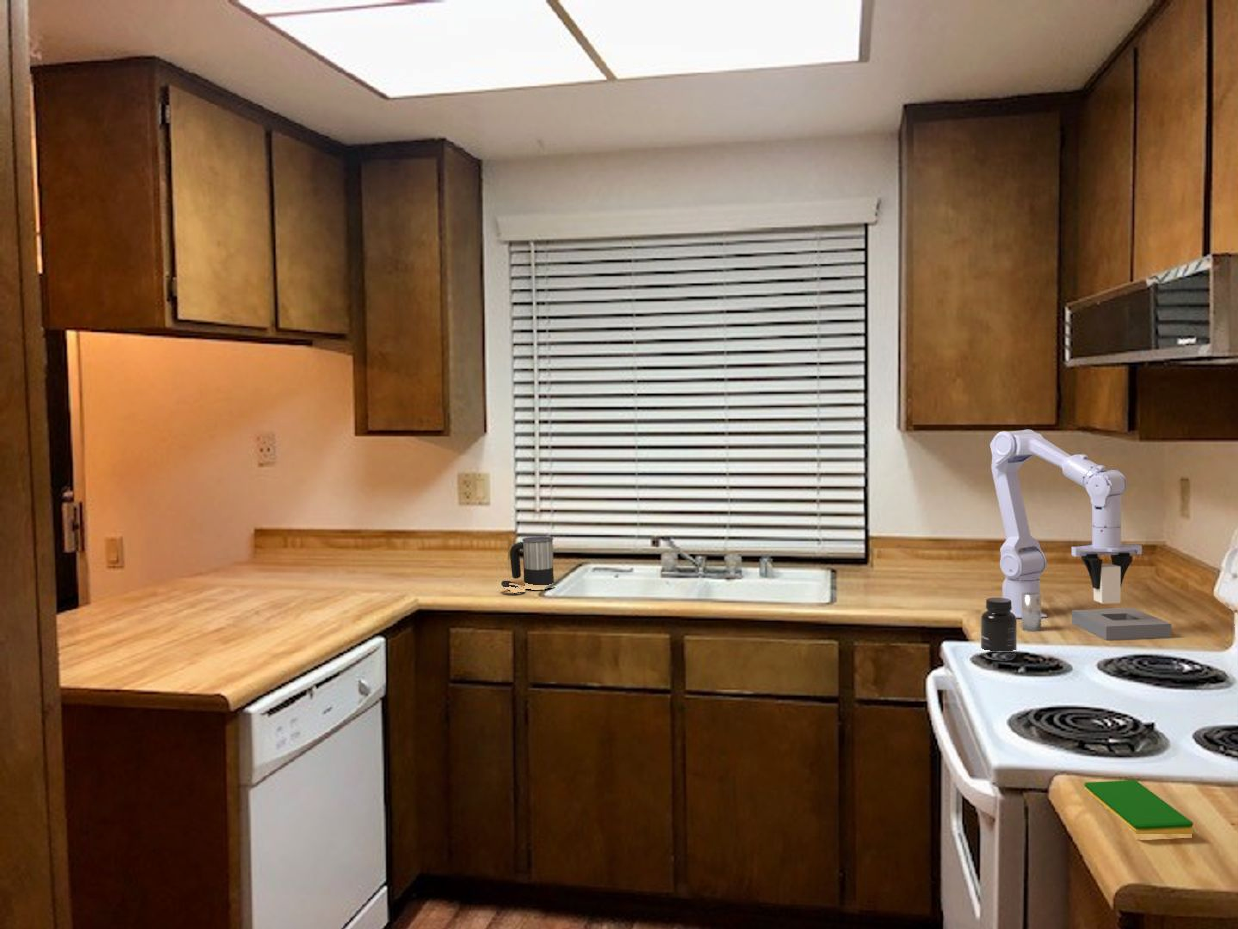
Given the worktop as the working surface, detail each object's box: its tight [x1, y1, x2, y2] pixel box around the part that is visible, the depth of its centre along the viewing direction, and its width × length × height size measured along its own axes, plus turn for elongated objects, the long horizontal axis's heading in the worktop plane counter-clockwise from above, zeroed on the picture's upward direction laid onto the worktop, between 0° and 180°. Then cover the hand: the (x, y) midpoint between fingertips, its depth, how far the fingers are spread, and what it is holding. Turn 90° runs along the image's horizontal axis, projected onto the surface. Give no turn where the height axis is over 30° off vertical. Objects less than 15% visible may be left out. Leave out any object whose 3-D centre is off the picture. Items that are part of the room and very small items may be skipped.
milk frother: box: [500, 536, 555, 588], centre depth 296 cm, size 14×16×15 cm
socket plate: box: [1071, 607, 1172, 641], centre depth 225 cm, size 16×14×3 cm
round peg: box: [1021, 592, 1042, 632], centre depth 229 cm, size 4×4×8 cm
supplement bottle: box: [980, 597, 1018, 651], centre depth 207 cm, size 7×7×12 cm
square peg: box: [1093, 563, 1122, 605], centre depth 223 cm, size 4×4×8 cm
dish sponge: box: [1084, 779, 1194, 835], centre depth 131 cm, size 7×14×2 cm, turn 1°
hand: (1106, 587), depth 223 cm, fingers closed on square peg, 4 cm apart
